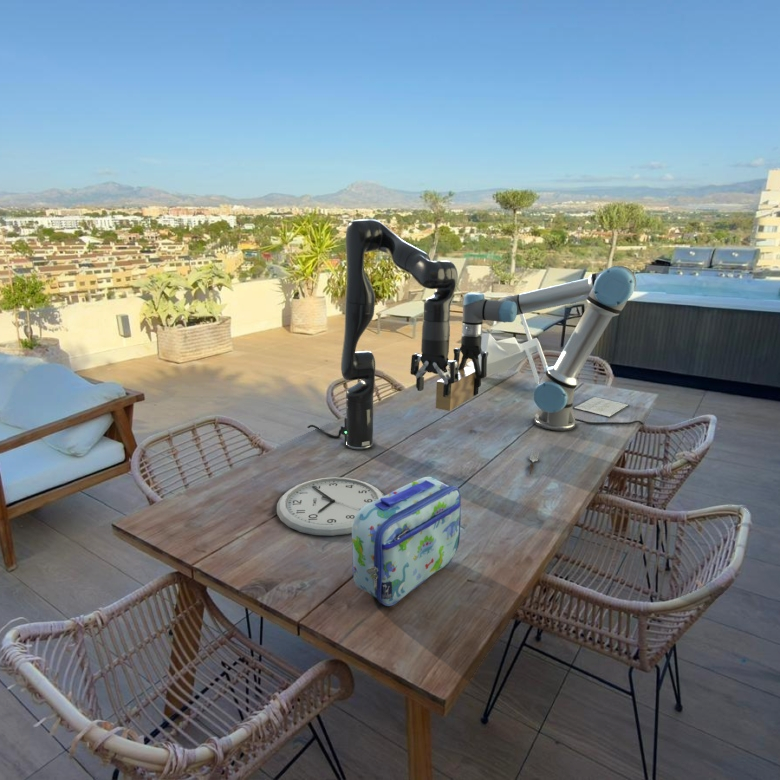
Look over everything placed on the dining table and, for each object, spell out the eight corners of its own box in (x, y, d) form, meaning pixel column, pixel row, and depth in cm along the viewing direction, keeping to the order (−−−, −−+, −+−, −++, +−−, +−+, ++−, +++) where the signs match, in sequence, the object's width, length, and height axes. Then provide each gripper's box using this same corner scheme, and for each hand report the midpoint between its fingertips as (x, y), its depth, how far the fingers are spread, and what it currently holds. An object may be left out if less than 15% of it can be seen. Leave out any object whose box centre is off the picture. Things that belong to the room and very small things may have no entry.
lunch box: (381, 619, 101) (382, 525, 95) (345, 592, 109) (344, 503, 102) (464, 563, 119) (469, 480, 113) (428, 543, 126) (432, 464, 120)
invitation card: (608, 416, 214) (573, 407, 224) (608, 416, 214) (573, 408, 224) (628, 404, 229) (594, 396, 238) (628, 405, 229) (594, 397, 238)
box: (464, 391, 208) (466, 366, 205) (478, 393, 205) (479, 369, 202) (435, 408, 188) (436, 381, 185) (450, 411, 185) (451, 383, 182)
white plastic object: (487, 418, 267) (468, 395, 242) (469, 346, 289) (449, 318, 264) (558, 394, 255) (545, 368, 230) (533, 321, 277) (518, 289, 252)
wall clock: (392, 527, 129) (268, 531, 127) (391, 533, 130) (269, 537, 127) (383, 473, 158) (282, 475, 155) (383, 478, 158) (282, 480, 156)
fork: (525, 475, 162) (525, 469, 161) (530, 455, 176) (531, 449, 176) (534, 476, 161) (534, 470, 161) (538, 456, 175) (539, 450, 175)
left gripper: (406, 335, 143) (404, 391, 148) (451, 342, 135) (448, 401, 140) (421, 331, 149) (419, 385, 154) (465, 338, 141) (462, 395, 146)
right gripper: (444, 333, 199) (442, 391, 206) (491, 339, 189) (486, 399, 196) (453, 330, 205) (450, 386, 212) (498, 335, 195) (494, 394, 202)
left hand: (433, 393), depth 147 cm, fingers open, 8 cm apart
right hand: (468, 393), depth 204 cm, fingers closed on box, 6 cm apart
